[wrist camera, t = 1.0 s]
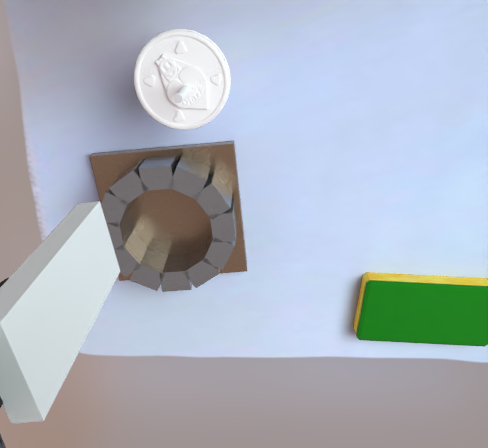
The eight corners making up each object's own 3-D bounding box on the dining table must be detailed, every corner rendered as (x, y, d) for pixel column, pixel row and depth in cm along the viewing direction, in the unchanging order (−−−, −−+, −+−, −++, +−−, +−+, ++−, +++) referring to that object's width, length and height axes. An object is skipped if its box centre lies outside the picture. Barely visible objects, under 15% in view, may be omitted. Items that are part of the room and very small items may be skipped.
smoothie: (197, 121, 40) (173, 168, 28) (143, 66, 38) (90, 88, 26) (250, 69, 38) (250, 94, 26) (196, 9, 37) (167, 2, 24)
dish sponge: (477, 332, 50) (487, 347, 48) (352, 326, 50) (356, 340, 48) (495, 277, 47) (507, 289, 45) (362, 269, 47) (367, 282, 45)
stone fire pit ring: (93, 153, 42) (76, 167, 38) (234, 140, 41) (232, 154, 37) (121, 275, 47) (109, 300, 43) (247, 266, 46) (246, 290, 42)
